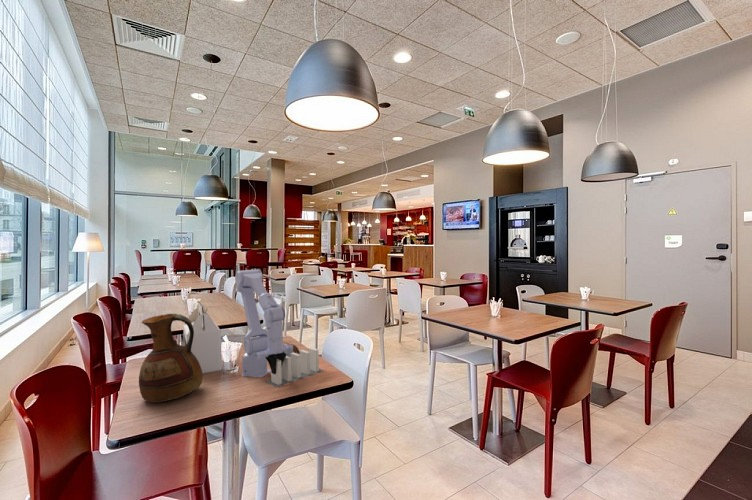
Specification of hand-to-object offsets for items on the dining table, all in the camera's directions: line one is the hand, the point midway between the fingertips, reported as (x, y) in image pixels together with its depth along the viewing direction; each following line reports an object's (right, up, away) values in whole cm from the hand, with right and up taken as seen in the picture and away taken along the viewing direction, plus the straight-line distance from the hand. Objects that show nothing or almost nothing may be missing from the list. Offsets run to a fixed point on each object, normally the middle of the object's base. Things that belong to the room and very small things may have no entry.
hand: (276, 372), depth 140 cm
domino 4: (+9, -4, +10) cm, 14 cm away
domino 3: (+6, -4, +7) cm, 10 cm away
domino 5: (+12, -3, +13) cm, 18 cm away
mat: (+6, -4, +7) cm, 10 cm away
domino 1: (0, -4, 0) cm, 4 cm away
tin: (-3, -4, +27) cm, 27 cm away
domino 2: (+3, -4, +3) cm, 6 cm away
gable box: (-40, -5, +23) cm, 46 cm away
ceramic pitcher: (-35, -6, -9) cm, 37 cm away
